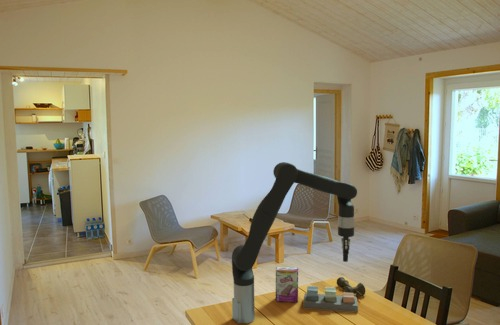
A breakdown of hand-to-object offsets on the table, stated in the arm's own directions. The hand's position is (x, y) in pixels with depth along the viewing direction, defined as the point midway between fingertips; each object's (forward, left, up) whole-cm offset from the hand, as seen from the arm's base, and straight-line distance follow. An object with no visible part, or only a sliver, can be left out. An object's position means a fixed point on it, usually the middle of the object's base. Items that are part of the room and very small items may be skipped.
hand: (345, 261), depth 190 cm
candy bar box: (-21, +19, -23) cm, 36 cm away
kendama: (+13, +10, -23) cm, 28 cm away
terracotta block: (+1, -1, -21) cm, 21 cm away
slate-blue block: (-12, +9, -19) cm, 25 cm away
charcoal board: (-6, +4, -22) cm, 23 cm away
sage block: (-6, +4, -19) cm, 20 cm away
